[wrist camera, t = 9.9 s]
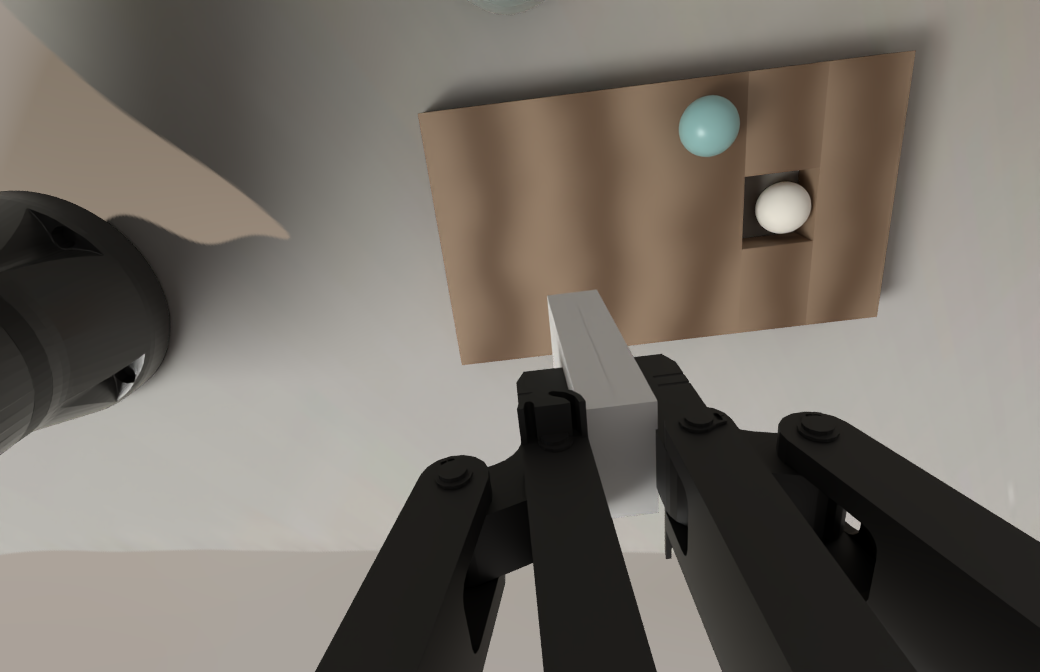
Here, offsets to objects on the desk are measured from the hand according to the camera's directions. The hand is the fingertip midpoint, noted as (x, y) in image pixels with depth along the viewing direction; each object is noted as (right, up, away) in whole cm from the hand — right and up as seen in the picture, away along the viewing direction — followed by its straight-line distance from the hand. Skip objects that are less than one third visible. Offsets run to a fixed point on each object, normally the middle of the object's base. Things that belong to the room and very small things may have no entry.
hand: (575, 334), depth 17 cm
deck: (+7, +8, +20) cm, 23 cm away
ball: (+15, +8, +18) cm, 25 cm away
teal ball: (+9, +12, +14) cm, 20 cm away
